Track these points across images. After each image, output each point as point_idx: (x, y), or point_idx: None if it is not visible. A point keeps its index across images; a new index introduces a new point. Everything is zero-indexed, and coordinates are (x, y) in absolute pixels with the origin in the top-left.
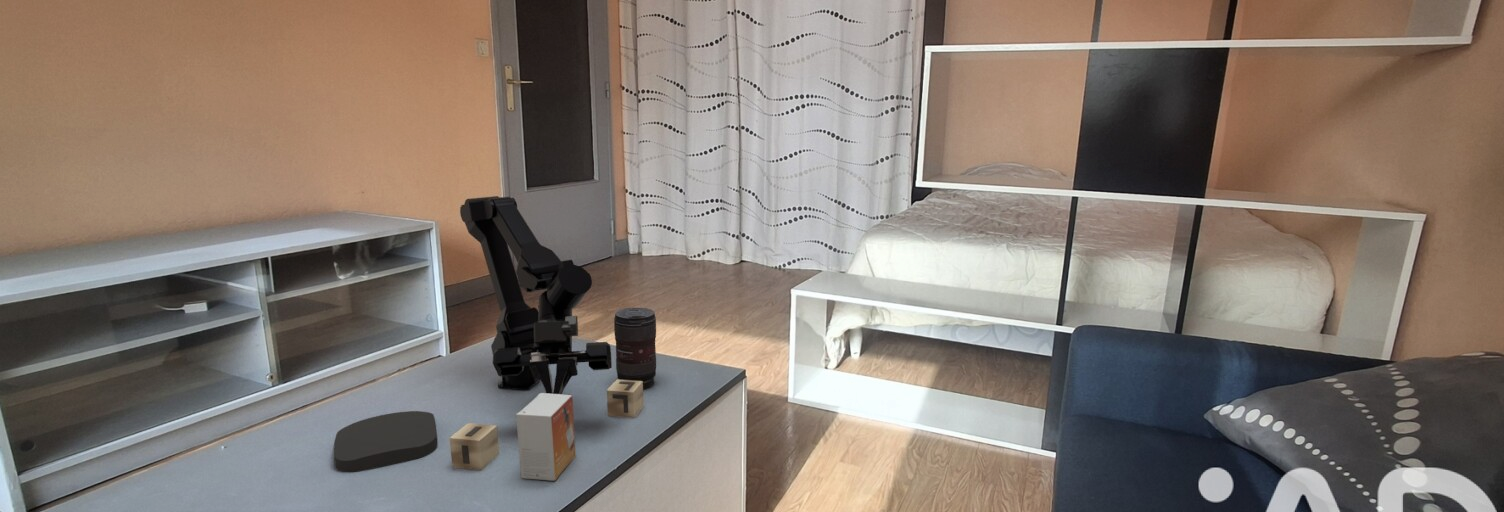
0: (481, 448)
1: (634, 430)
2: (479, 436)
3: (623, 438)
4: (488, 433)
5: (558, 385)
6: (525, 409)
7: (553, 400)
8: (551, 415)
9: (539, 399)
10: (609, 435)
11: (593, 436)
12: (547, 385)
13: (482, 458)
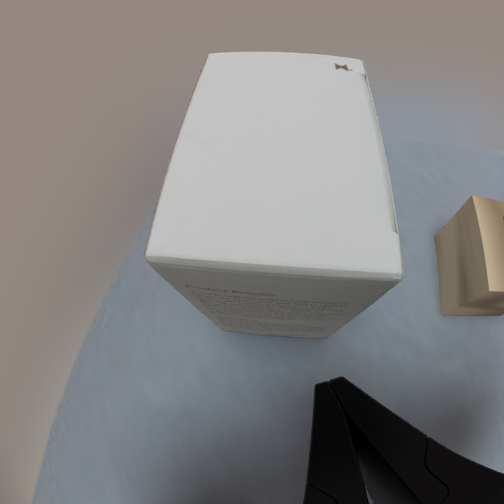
0: (461, 215)
1: (98, 469)
2: (487, 218)
3: (113, 429)
4: (481, 240)
5: (327, 476)
6: (353, 84)
7: (247, 159)
8: (208, 58)
9: (348, 168)
10: (156, 451)
11: (202, 449)
12: (410, 448)
13: (447, 228)
